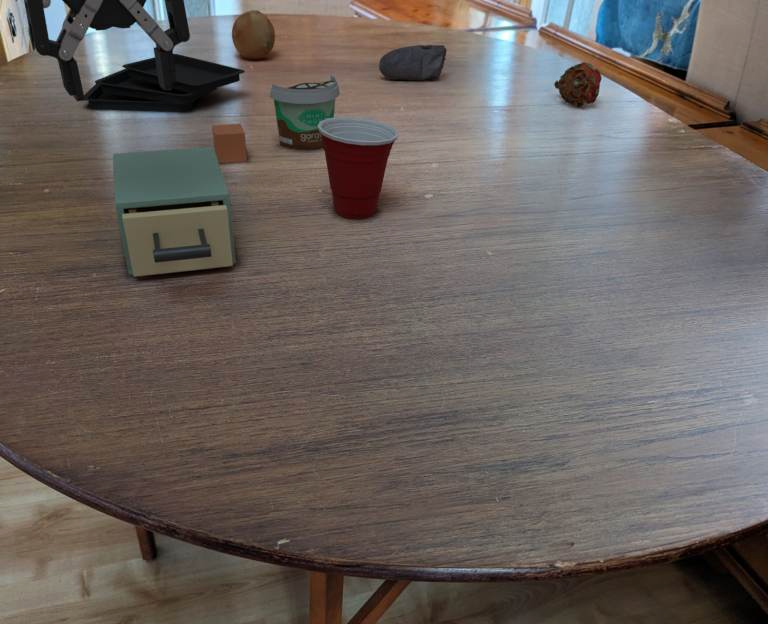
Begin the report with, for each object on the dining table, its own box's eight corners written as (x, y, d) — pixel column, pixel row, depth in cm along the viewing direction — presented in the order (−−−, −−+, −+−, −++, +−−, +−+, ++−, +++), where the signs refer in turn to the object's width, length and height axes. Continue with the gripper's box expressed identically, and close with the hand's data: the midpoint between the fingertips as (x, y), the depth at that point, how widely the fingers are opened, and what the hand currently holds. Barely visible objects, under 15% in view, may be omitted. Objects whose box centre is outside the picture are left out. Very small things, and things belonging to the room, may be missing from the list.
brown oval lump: (249, 51, 172) (245, 4, 166) (284, 57, 169) (282, 9, 162) (224, 59, 165) (220, 11, 159) (261, 66, 161) (258, 17, 155)
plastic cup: (409, 218, 101) (415, 133, 94) (340, 233, 97) (340, 144, 89) (371, 190, 109) (374, 109, 101) (306, 202, 104) (303, 118, 97)
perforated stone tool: (380, 83, 154) (381, 48, 150) (376, 76, 159) (377, 42, 154) (448, 83, 157) (451, 48, 152) (443, 76, 161) (446, 42, 156)
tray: (79, 118, 129) (72, 87, 126) (93, 81, 147) (88, 54, 144) (249, 114, 135) (247, 85, 132) (243, 79, 153) (241, 53, 150)
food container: (291, 157, 118) (288, 94, 112) (272, 146, 122) (269, 84, 116) (353, 144, 124) (354, 83, 118) (333, 133, 128) (333, 74, 122)
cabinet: (235, 263, 89) (229, 193, 84) (128, 275, 86) (114, 203, 80) (219, 211, 101) (213, 146, 95) (125, 219, 98) (112, 153, 92)
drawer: (239, 289, 82) (234, 230, 78) (135, 301, 79) (123, 241, 75) (217, 215, 98) (212, 162, 93) (129, 223, 95) (119, 169, 90)
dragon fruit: (576, 121, 144) (564, 111, 154) (616, 96, 141) (601, 88, 152) (556, 83, 141) (545, 75, 151) (596, 56, 138) (582, 51, 149)
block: (247, 161, 116) (245, 132, 113) (218, 163, 115) (215, 134, 112) (242, 151, 119) (240, 123, 117) (214, 153, 118) (211, 125, 115)
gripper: (157, -105, 68) (181, 76, 78) (-8, -103, 62) (40, 92, 72) (182, -98, 63) (204, 95, 73) (5, -96, 57) (55, 114, 67)
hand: (123, 93), depth 72 cm, fingers open, 8 cm apart
